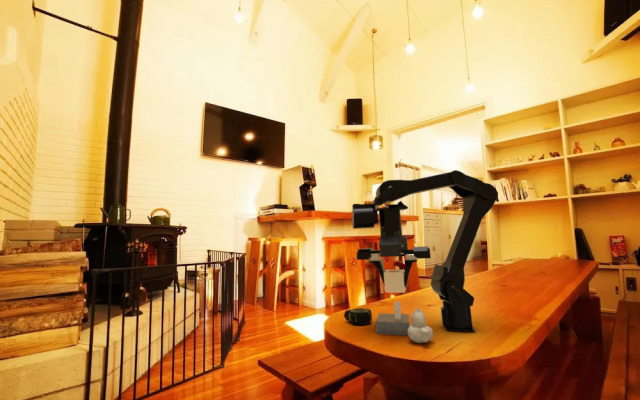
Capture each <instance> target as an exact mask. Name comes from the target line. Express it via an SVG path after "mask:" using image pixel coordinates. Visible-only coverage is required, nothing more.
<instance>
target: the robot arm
mask: <svg viewBox="0 0 640 400" xmlns="http://www.w3.org/2000/svg"><path fill="white" fill-rule="evenodd" d="M443 188H445V189H446V188H449V189H451V190H452V191H453V192H454V193H455V194H456V195H457V196H459V197H460V198H462V199H463V200H462V212H463V214H462V216H461V220H460V222H459V225H458V227H457V229H456V233H455V235H454V238H453V241H452V243H451V246H450V249H449V250H448V254H447V256H446V258H445V261H444V262H443V263H442V264H441V265H439V264H435V265H434V267H433V271H432V274H431V275H430V276H429V279H431V280H430V287H431V288H432V290H433V292H434V293H436V294H437V295H438V297H439V300H440V301H441V302H442V306H441V307H440V314H441V315H440V316H441V317H440V318H441V324H442V326H443V327H444V329H445V331H448V332H449V331H450V332H469V333H474V332H475V330H476V329H475V328H474V326H473V320H472V319H473V318H472V310H471V309H472V308H471V307H473V306H474V302H475V297H474V296H473V295H472V294H471V293H469V292H468V291H467V290H466V289H465V288H464V286H465V281H466V277H465V266H466V263H467V260H468V257H469V256H470V253H471V251H472V247H473V245H474V242H475V238H476V236H477V233H478V230H479V228H480V226H481V223H482V221H483V219H484V217H485V216H486V215H487V214H488V213H489V212H490V210H492V208H493V207H494V205H495V203H496V201H497V200H498V198H499V197H498V196H499V192H498V190H497V188H496V187H495V186H494V185H493V184H490V183H488V182H485V181H483V180H481V179H479V178H476V177H472V176H470V175H468V174H465V173H464V172H462V171H460V170H457V169H455V170H452V171H450V172H445V173H440V174H439V173H438V174H435V175H429V176H423V177H419V178H415V179H409V180H408V179H387V180H385V181H384V180H383V182H382V183H381V184H379V186H378V187H377V188H376V191H375V198H374V199H373V200H372V201H371V203H353V204H352V209H351V215H352V216H351V226H352V229H353V230H354V229H355V230H359V229H374V228H375V225H378V224H379V233H380V238H379V242H378V249H377V250H376V249H375V250H374V247H368V248H358V249H357V250H356V260H357V261H358V260H359V261H360V260H361V261H362V260H367V261H368V260H369V263H370V264H373V265H374V266H375V268H376V270H377V272H378V274H379V276H380V279H381V281H382V284H383V286H384V287H385V283H384V272H385V271H386V269H385V265H384V264H385V263H384V258H386V257H387V258H388V257H390V258H391V257H392V258H393V257H405V259H404V272H405V273H404V284H405V287H406V288H407V285H408V280H409V275H410V273H411V272H410V271H411V269H412V265H413V263H417V262H418V259H421V260H422V259H431V258H432V257H431V249H430V247H429V246H427V245H425V246H424V245H423V246H413V247H412V248H413V249H412V248H411V249H409V248H408V247H409V244H408V243H409V242H408V237H407V235H403V228H402V216H401V211H405V210H408V209H409V207H408V206H407V205H406V204H404V203H403V202H402V200H401V199H403V198H406V197H408V196H410V195H416V194H420V193H425V192H430V191H435V190H440V189H443ZM399 200H400V201H399ZM396 201H398V202H397V203H396V204H394V203H393V202H396ZM392 203H393V204H392ZM384 204H386V206H385V207H382V208H379V207H381V206H382V205H384Z"/></svg>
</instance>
